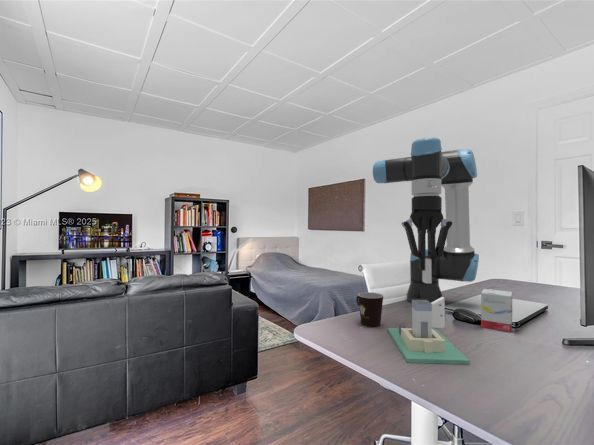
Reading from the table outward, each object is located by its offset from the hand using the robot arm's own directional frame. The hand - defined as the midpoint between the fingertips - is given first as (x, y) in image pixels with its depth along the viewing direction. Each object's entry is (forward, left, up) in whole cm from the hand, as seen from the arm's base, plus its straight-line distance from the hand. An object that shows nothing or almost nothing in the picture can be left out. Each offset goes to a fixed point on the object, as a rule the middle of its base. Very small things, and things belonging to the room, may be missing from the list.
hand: (426, 282), depth 81 cm
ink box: (-22, +30, -19) cm, 42 cm away
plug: (-2, -1, -18) cm, 18 cm away
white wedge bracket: (-21, +9, -19) cm, 30 cm away
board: (-4, 0, -19) cm, 19 cm away
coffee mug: (-23, -12, -19) cm, 32 cm away
